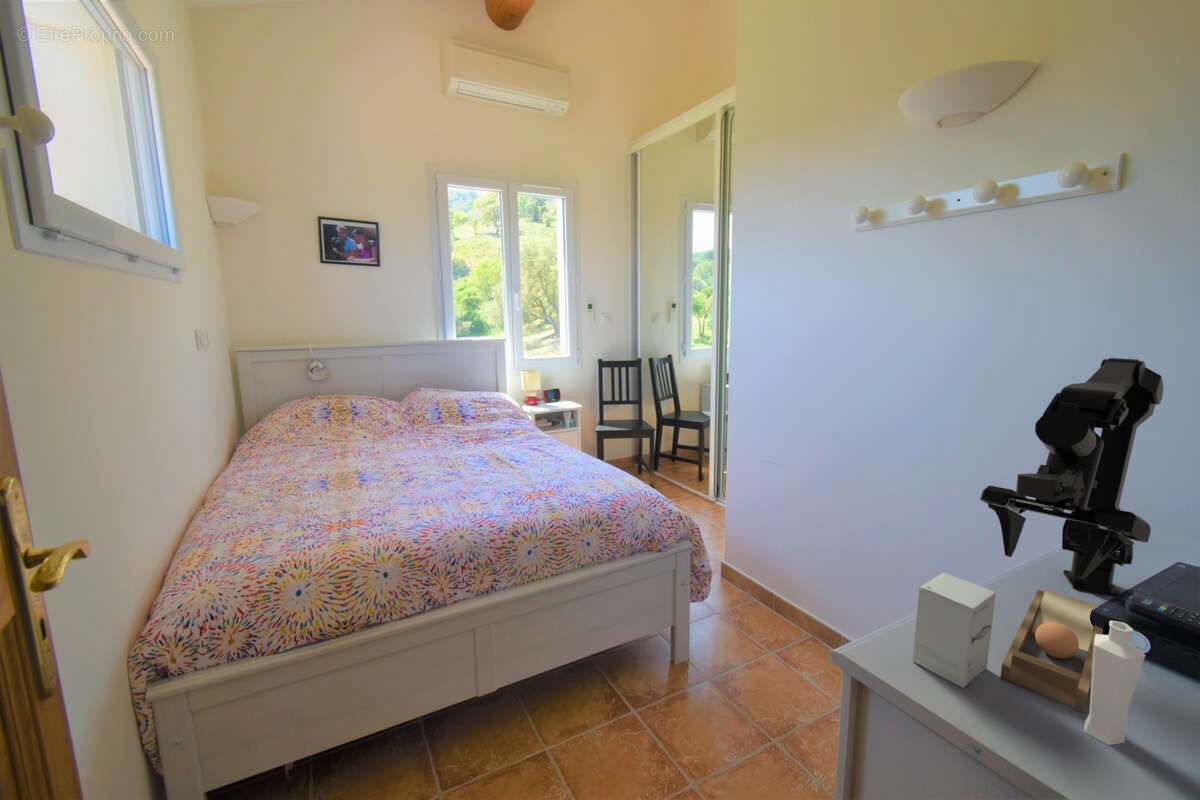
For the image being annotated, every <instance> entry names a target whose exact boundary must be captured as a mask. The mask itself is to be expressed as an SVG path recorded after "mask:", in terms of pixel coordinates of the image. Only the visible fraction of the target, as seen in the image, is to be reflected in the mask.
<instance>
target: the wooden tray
mask: <svg viewBox="0 0 1200 800" xmlns="http://www.w3.org/2000/svg"><path fill="white" fill-rule="evenodd" d="M1097 607H1099V608H1100V606H1099V605H1098V604H1095V603H1092V602H1090V601H1084V600H1082V599H1078V598H1074V597H1072V596H1068V595H1065V594H1060V593H1057V592H1054V591H1051V590H1047V589H1044V590H1041V589H1037V591H1036V593H1035V595H1034V597H1033V599H1032V601H1031V604H1030V605H1029V608H1028V610H1027V612H1026V614H1025V616H1024V617H1023V620H1022V622H1021V624H1020V626H1019V629H1018V630H1017V632H1016V635H1015V637H1014V639H1013V640H1012V643H1011V645H1010V647H1009V649H1008V651H1007V652H1006V653H1007V654H1006V655H1005V657H1004V659H1003V662H1002V664H1001V670H1000V678H999V680H1001V681H1004V682H1006V683H1009V684H1011V685H1014V686H1016V687H1019V688H1021V689H1023V690H1026V691H1028V692H1031V693H1034V694H1036V695H1038V696H1041V697H1043V698H1044V699H1047V700H1050V701H1053V702H1056V703H1058V704H1060V705H1063V706H1065V707H1068V708H1070V709H1072V710H1075V711H1077V712H1080V713H1082V714H1085V711H1086V707H1087V703H1088V699H1089V694H1090V692H1091V681H1092V666H1093V650H1094V640H1095V635H1096V634H1100V635H1104V634H1103V629H1102V628H1100V627H1097V626H1096V625H1095V627H1094V626H1093V625H1092V624H1091V621H1090V614H1091V611H1092V610H1093V609H1095V608H1097ZM1046 622H1056V623H1060V624H1063V625H1065V626H1067V627H1068V628H1069V629H1071V630H1072V631H1073V632H1074V633H1075V635H1076V636H1077V638H1078V641H1079V649H1078V651H1077V653H1076V654H1075V655H1074V656H1072V657H1069V658H1056V657H1053V656H1051V655H1049V654H1047V653H1046V652H1044V651H1043V650H1042V649H1041V648H1040V647H1039V645H1038V644H1037V642H1036V639H1035V632H1036V630H1037V628H1038V627H1039V626H1040V625H1041V624H1043V623H1046ZM1093 630H1094V631H1093Z"/></svg>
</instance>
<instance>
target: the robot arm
mask: <svg viewBox="0 0 1200 800" xmlns="http://www.w3.org/2000/svg"><path fill="white" fill-rule="evenodd" d="M1163 394H1164V382H1163V377H1162V375H1160V374H1159V373H1157V372H1156V371H1154V370H1151V369H1149V368H1148V367H1146V363H1145V361H1144V360H1140V359H1137V358H1136V359H1135V358H1117V357H1109V358H1103V360H1101V363H1100V366H1099V368H1098V369H1097V371H1096V372H1095V373H1094V374H1092V375H1091V376H1089V378H1088V379H1087V380H1086V381H1085V382H1080V383H1078V382H1077V383H1070V384H1067V385H1066V386H1064V387H1063V388H1062V389H1061V390H1060V392H1057V393H1055V395H1054V397H1053V398H1052V399H1051V401H1050V403H1049V404H1048V405H1047V408H1046V409H1044V410H1045V411H1043V413H1042V416H1040V417H1039V419H1038V420H1036V422H1035V426H1034V431H1035V434H1036V436H1037V438H1038V439H1039V441H1040V442H1041V443H1042V444H1043V445H1044V447H1045V448H1046V449H1047V450H1048V451H1049V452H1048V455H1047V458H1046V462H1045V464H1040V465H1039V467H1038V469H1037V472H1036V473H1030V472H1029V473H1018V474H1017V480H1016V491H1015V490H1013V489H1010V488H1005V487H1001V486H994V485H988V486H987V487H986V488H984V489H983V490H982V492H981V496H980V498H979V500H980V501H981V502H984V503H985V504H987V507H988V508H989V509H991V510H992V511H994V512H995V514H996V516H997V517H998V520H999V523H1000V529H1001V535H1002V543H1003V549H1004V550H1003V551H1004V556H1006V557H1008V558H1011V557H1012V556H1013V554H1014V552H1015V550H1016V549H1017V545H1018V543H1019V540H1020V537H1021V534H1022V531H1023V528H1024V524H1025V522H1026V519H1027V517H1024V516H1023V515H1021V514H1023V513H1025V512H1026V511H1029V512H1033V513H1038V514H1042V515H1047V516H1051V517H1056V518H1061V519H1065V520H1064V522H1063V527H1062V531H1061V533H1062V534H1061V535H1062V536H1061V549H1062V550H1063V551H1064V550H1065V551H1066V550H1067V551H1070V552H1073V556H1072V560H1071V561H1072V563H1071V568H1070V569H1071V570H1063V572H1062V573H1063V575H1064V576H1065V578H1066V579H1067V581H1068V583H1070V586H1071V587H1072V588H1073V589H1075V590H1079V591H1086V592H1087V591H1088V592H1093V593H1097V594H1098V593H1099V594H1103V595H1104V594H1106V595H1111V596H1118V595H1121V592H1120V591H1119V590H1118V588H1117V587H1116V586H1115V585H1114V583H1113V582H1114V576H1115V570H1116V565H1118V566H1121V567H1124V565H1132V563H1133V558H1134V544H1135V542H1134V541H1137V542H1142V543H1149V539H1150V536H1151V535H1150V534H1151V531H1152V530H1151V525H1150V524H1149V523H1148V522H1147V521H1146V520H1145V519H1143V518H1142V517H1140V516H1138V515H1137V514H1135V513H1134V512H1132V511H1126V510H1121V508H1120V505H1121V503H1120V502H1121V499H1122V494H1123V490H1124V487H1125V481H1126V478H1127V477H1126V476H1127V472H1128V468H1129V463H1130V460H1131V456H1132V455H1131V454H1132V450H1133V446H1134V442H1135V437H1136V433H1137V429H1138V427H1139V426H1140V425H1142V424H1144V422H1146V421H1147V420H1148V419H1149V418H1150V417H1152V416H1153V415H1154V412H1155V408H1156V405H1158V406H1159V405H1160V404H1161V402H1162V399H1163ZM1096 428H1097V429H1101V433H1100V435H1099V434H1098V433H1096V431H1095V429H1096ZM1028 497H1029V498H1028ZM1032 498H1034V499H1032ZM1065 511H1066V512H1065ZM1068 511H1069V512H1070V513H1069V512H1068Z"/></svg>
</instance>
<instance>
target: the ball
mask: <svg viewBox="0 0 1200 800" xmlns="http://www.w3.org/2000/svg"><path fill="white" fill-rule="evenodd" d="M1035 639H1036V642H1037V644H1038V645H1039V647H1040V648H1041V649H1042V650H1043V651H1044V652H1046V653H1047V654H1049V655H1051V656H1053V657H1056V658H1069V657H1072V656H1074V655H1075V654H1076V653H1077V651H1078V649H1079V641H1078V638H1077V636H1076V635H1075V633H1074V632H1073V631H1072V630H1071V629H1069V628H1068V627H1067V626H1065V625H1063V624H1060V623H1056V622H1046V623H1043V624H1041V625H1040V626H1039V627H1038V628H1037V630H1036V632H1035Z"/></svg>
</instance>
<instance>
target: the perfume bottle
mask: <svg viewBox="0 0 1200 800" xmlns="http://www.w3.org/2000/svg"><path fill="white" fill-rule="evenodd" d="M1108 625H1109V632H1108V634H1103V635H1100V634H1096V635H1095V640H1094V650H1093V666H1092V681H1091V687H1090V699H1089V700H1090V702H1089V714H1088V716H1087V717H1086V719H1085V720H1084V726H1083V732H1085V733H1086V734H1088V735H1090V736H1092V737H1094V739H1097V740H1099V741H1100V742H1102V743H1104V744H1105V745H1108V746H1112V745H1113V746H1114V745H1119V744H1124V743H1126V739H1125V734H1124V730H1123V729H1124V727H1125V723H1126V719H1127V715H1128V713H1129V710H1130V706H1131V703H1132V700H1133V697H1134V694H1135V690H1136V688H1137V683H1138V681H1139V677H1140V674H1141V671H1142V668H1143V664H1144V660H1145V658H1146V654H1145V653H1144V652H1142V651H1141V650H1140V649H1138V647H1136V646H1135V645H1133V644H1132V643H1131V637H1132V636H1131V635H1132V632H1134V628H1132V627H1131V626H1129V624H1127V623H1126V622H1122V621H1121V622H1120V621H1115V620H1109V622H1108Z"/></svg>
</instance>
